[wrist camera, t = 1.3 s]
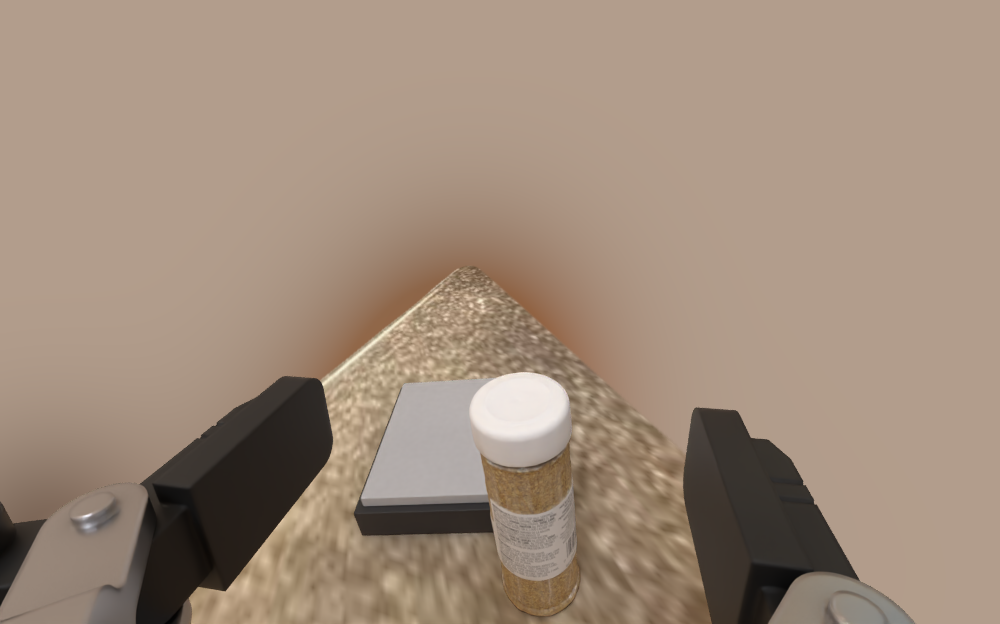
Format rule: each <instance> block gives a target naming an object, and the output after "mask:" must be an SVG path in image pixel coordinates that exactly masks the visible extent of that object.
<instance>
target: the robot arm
mask: <svg viewBox="0 0 1000 624" xmlns="http://www.w3.org/2000/svg"><path fill="white" fill-rule="evenodd" d="M332 445H333V436H332V430H331V425H330V420H329V414H328V409H327V404H326V399H325V394H324V389H323V385H322V383H321V382H320V381H319V380H318V379H316V378H304V377H303V378H302V377H290V376H284V377H282V378H280V379H278V380H277V381H276V382H275V383H273V384H272V385H271V386H270V387H269V388H267V389H266V390H265V391H264V392H262V393H261V394H260V395H259V396H258V397H256V398H254V399H252V400H250V401H248V402H246V403H244V404H242V405H240V406H238V407H236V408H234V409H233V410H232V411H231V412H229V413H228V414H227V415H226V416H224V417H223V418H222V419H221V420H219V421H218V422H217V425H216V426H212V427H211V428H210V429H208V430H207V431H206V432H204V433H203V434H202V435H201V438H200V439H199V438H197V439H196V440H194V441H193V442H192V443H191V444H190V445H188V446H187V447H186V448H184V449H183V450H182V451H181V452H179V453H178V454H177V455H176V456H174V457H173V458H172V459H171V460H169V461H168V462H167V463H166V464H164V465H163V466H162V467H161V468H159V469H158V470H157V471H156V472H154V473H153V474H152V475H151V476H149V477H148V478H147V479H146V480H144V481H143V482H142V483H141V484H136V483H118V484H113V485H109V486H105V487H101V488H98V489H96V490H93V491H91V492H88V493H86V494H84V495H82V496H79V497H78V498H76V499H74V500H72V501H70V502H69V503H67V504H66V505H64V506H63V507H61V508H60V509H59V510H58V511H56V512H55V513H54V514H53V515H51V516H50V517H49V518H48V519H44V520H36V521H29V522H21V523H14V524H13V523H12V521H11V519H10V517H9V516H8V514H7V512H6V510H5V508H4V506H3V504H2V503H1V502H0V624H191V617H192V607H191V603H190V601H189V597H190V596H191V594H192V593H193V592H194V591H195V590H196V588H197V587H203V588H209V589H215V590H221V591H226V590H227V589H228V587H229V586H230V585H231V584H232V582H233V581H234V580H235V579H236V577H237V576H238V575H239V574H240V572H241V571H242V570H243V568H244V567H245V566H246V565H247V563H248V562H249V561H250V560H251V558H252V557H253V556H254V554H255V553H256V552H257V551H258V549H259V548H260V547H261V546H262V544H263V543H264V542H265V540H266V539H267V538H268V537H269V535H270V534H271V533H272V532H273V530H274V529H275V528H276V526H277V525H278V524H279V523H280V521H281V520H282V519H283V518H284V516H285V515H286V514H287V512H288V511H289V510H290V509H291V507H292V506H293V505H294V504H295V502H296V501H297V500H298V499H299V497H300V496H301V495H302V493H303V492H304V491H305V490H306V488H307V487H308V486H309V485H310V483H311V482H312V481H313V479H314V478H315V477H316V476H317V474H318V473H319V472H320V471H321V469H322V468H323V467H324V465H325V464H326V463H327V461H328V459H329V457H330V454H331V450H332ZM683 489H684V500H685V506H686V511H687V515H688V519H689V524H690V528H691V532H692V537H693V541H694V546H695V550H696V554H697V559H698V563H699V568H700V572H701V576H702V581H703V585H704V590H705V594H706V598H707V603H708V607H709V612H710V616H711V620H712V624H915V623H914V621H913V620H912V619H911V618H910V617H909V616H908V614H906V613H905V611H904V610H903V609H901V608H900V607H899V606H898V605H897V604H896V603H894V602H893V601H892V600H891V599H889V598H888V597H887V596H885V595H884V594H882V593H880V592H879V591H877V590H876V589H874V588H872V587H871V586H868V585H867V584H865V583H863V582H861V581H860V580H859V578H858V577H857V575H856V573H855V571H854V570H853V568H852V566H851V564H850V563H849V561H848V560H847V557H846V555H845V554H844V552H843V550H842V548H841V547H840V545H839V543H838V542H837V540H836V538H835V536H834V534H833V533H832V531H831V529H830V527H829V526H828V524H827V522H826V520H825V519H824V517H823V515H822V513H821V511H820V510H819V508H818V506H817V505H814V499H813V497H812V496H811V494H810V492H809V490H808V489H807V487H806V485H803V480H802V478H801V477H800V475H799V473H798V471H797V469H796V468H795V466H794V464H793V462H792V460H791V459H790V458H789V457H788V456H787V455H785V454H784V453H783V452H782V451H781V450H780V449H778V448H777V447H776V446H775V445H774V444H773V443H771V442H770V441H769V440H767V439H755V438H751V437H750V435H749V433H748V431H747V429H746V427H745V425H744V423H743V421H742V419H741V417H740V415H739V413H738V412H737V411H736V410H723V409H709V408H695V409H694V410H693V413H692V418H691V424H690V432H689V439H688V446H687V453H686V460H685V467H684V477H683Z"/></svg>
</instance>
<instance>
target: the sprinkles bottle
mask: <svg viewBox="0 0 1000 624" xmlns="http://www.w3.org/2000/svg"><path fill="white" fill-rule="evenodd" d="M469 417H470V423H471V429H472V434H473V439H474V442H475V445H476V448H477V449H478V451H479V452H480V455H481V460H482V465H483V471H484V475H485V484H486V490H487V493H488V499H489V505H490V516H491V521H492V526H493V531H494V536H495V541H496V547H497V551H498V555H499V558H500V561H501V566H502V582H503V585H504V590H505V592H506V594H507V596H508V598H509V599H510V600H511V601H512V603H513V604H514V605H515V606H516V607H517V608H518V609H519V610H521V611H524V612H526V613H528V614H531V615H536V616H550V615H553V614H555V613H558V612H559V611H561V610H562V609H564V608H566V607H567V606H568V604H570V603H571V602H572V600H573V599H574V597H575V595H576V593H577V590H578V585H579V582H580V574H579V567H578V564H577V559H576V548H577V537H576V519H575V504H574V490H573V476H572V471H571V461H570V451H569V441H570V437H571V433H572V421H571V410H570V402H569V398H568V395H567V393H566V391H565V390H564V388H563V387H562V386H561V385H560V384H559V383H557V382H556V381H555V380H553V379H551V378H549V377H547V376H544V375H541V374H536V373H528V372H522V373H512V374H507V375H503V376H500V377H498V378H495V379H493V380H491V381H489V382H488V383H486V384H485V385H483V386H482V387H481V388H480V389H479V390H478V391H477V392H476V394H475V395H474V396H473V398H472V400H471V403H470V407H469Z"/></svg>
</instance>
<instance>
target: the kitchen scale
mask: <svg viewBox="0 0 1000 624" xmlns="http://www.w3.org/2000/svg"><path fill="white" fill-rule="evenodd" d="M493 379H495V378H485V379H468V380H452V381H435V382H418V383H404V384H403V387H402V388H401V390H400V393H399V395H398V398H397V401H396V403H395V406H394V409H393V411H392V414H391V416H390V419H389V422H388V424H387V427H386V430H385V432H384V435H383V438H382V440H381V443H380V446H379V448H378V451H377V453H376V456H375V459H374V461H373V464H372V467H371V469H370V472H369V475H368V477H367V480H366V483H365V485H364V488H363V490H362V493H361V496H360V498H359V501H358V504H357V506H356V509H355V512H354V516H355V518H356V521H357V523H358V526H359V528H360V531H361V533H362V535H393V534H432V533H471V532H494V531H493V526H492V521H491V516H490V505H489V499H488V493H487V490H486V484H485V475H484V471H483V465H482V460H481V455H480V452H479V451H478V449H477V448H476V445H475V442H474V439H473V434H472V429H471V423H470V417H469V407H470V403H471V400H472V398H473V396H474V395H475V394H476V392H477V391H478V390H479V389H480V388H481V387H482V386H483V385H485V384H486V383H488V382H489V381H491V380H493Z"/></svg>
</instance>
